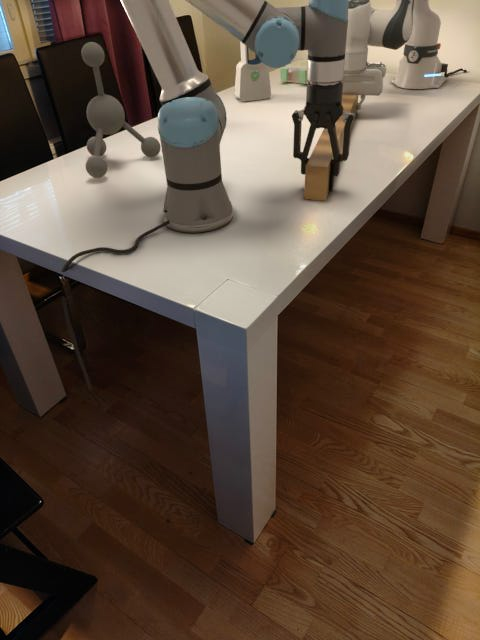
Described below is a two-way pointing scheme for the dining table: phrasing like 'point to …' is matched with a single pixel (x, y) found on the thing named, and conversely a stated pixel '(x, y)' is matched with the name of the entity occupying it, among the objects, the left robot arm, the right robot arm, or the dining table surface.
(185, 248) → the dining table surface
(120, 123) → the molecular model
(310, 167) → the post
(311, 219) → the dining table surface
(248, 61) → the electronic device
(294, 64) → the white green flat box
